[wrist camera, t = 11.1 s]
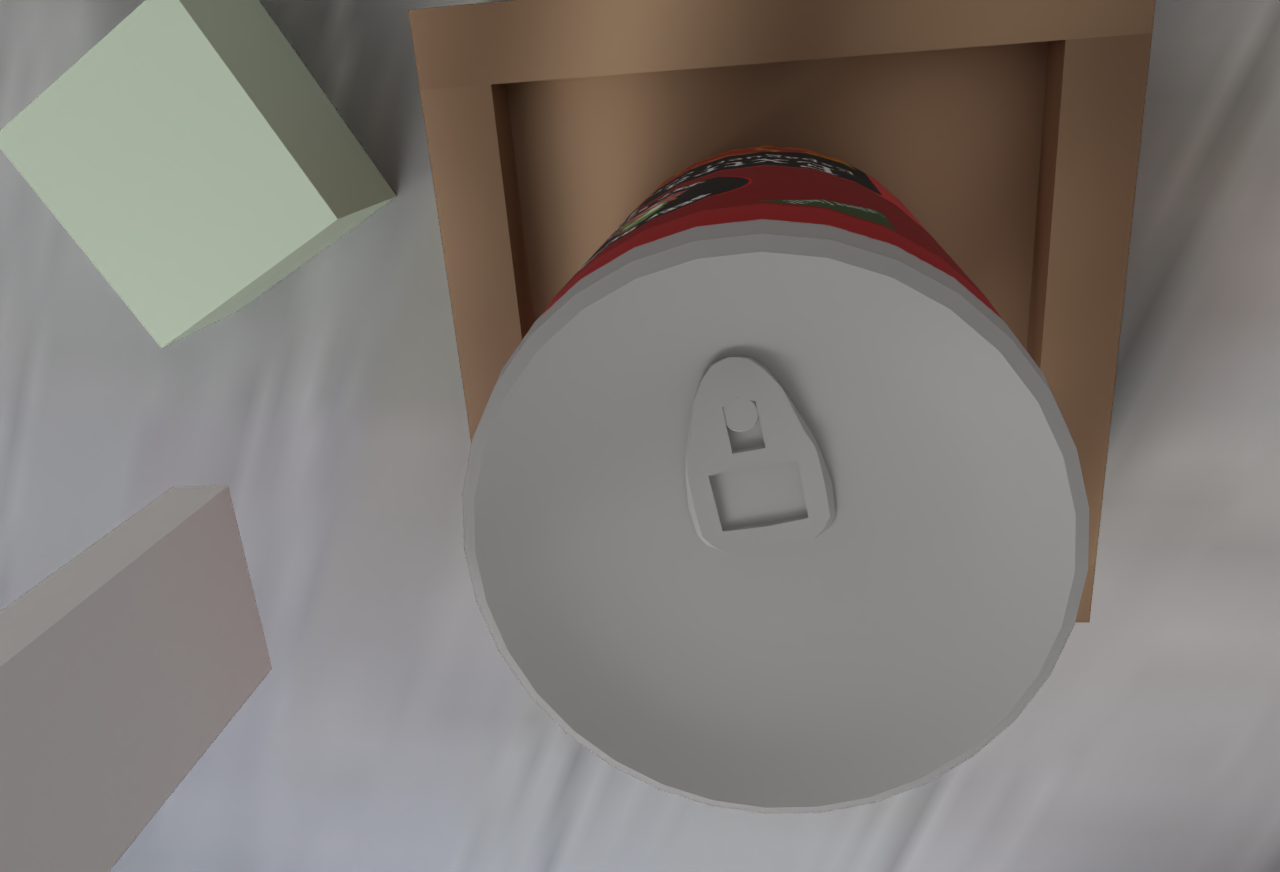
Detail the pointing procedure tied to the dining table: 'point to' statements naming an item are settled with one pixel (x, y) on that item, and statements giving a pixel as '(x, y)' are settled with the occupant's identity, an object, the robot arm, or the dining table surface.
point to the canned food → (776, 496)
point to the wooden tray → (799, 118)
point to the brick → (194, 161)
